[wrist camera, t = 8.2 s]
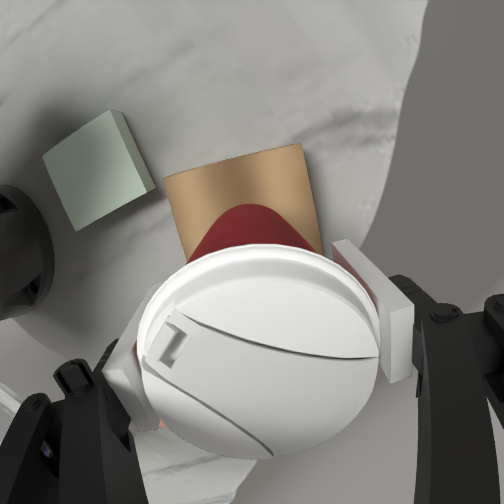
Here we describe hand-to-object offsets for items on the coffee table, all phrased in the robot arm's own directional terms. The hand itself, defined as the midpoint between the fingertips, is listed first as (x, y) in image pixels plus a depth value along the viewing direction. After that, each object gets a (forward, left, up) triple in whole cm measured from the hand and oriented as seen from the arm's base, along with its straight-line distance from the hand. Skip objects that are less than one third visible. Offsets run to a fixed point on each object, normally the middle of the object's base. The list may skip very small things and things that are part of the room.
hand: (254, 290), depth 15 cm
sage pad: (-12, +8, -16) cm, 21 cm away
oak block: (0, 0, -16) cm, 16 cm away
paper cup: (0, 0, -7) cm, 7 cm away
